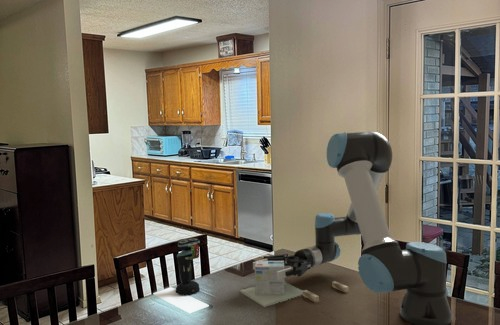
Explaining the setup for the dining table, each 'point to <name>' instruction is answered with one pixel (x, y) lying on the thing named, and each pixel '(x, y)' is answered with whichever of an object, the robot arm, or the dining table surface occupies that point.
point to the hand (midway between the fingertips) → (264, 270)
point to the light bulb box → (269, 278)
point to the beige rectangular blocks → (334, 285)
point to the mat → (272, 299)
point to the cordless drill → (187, 266)
